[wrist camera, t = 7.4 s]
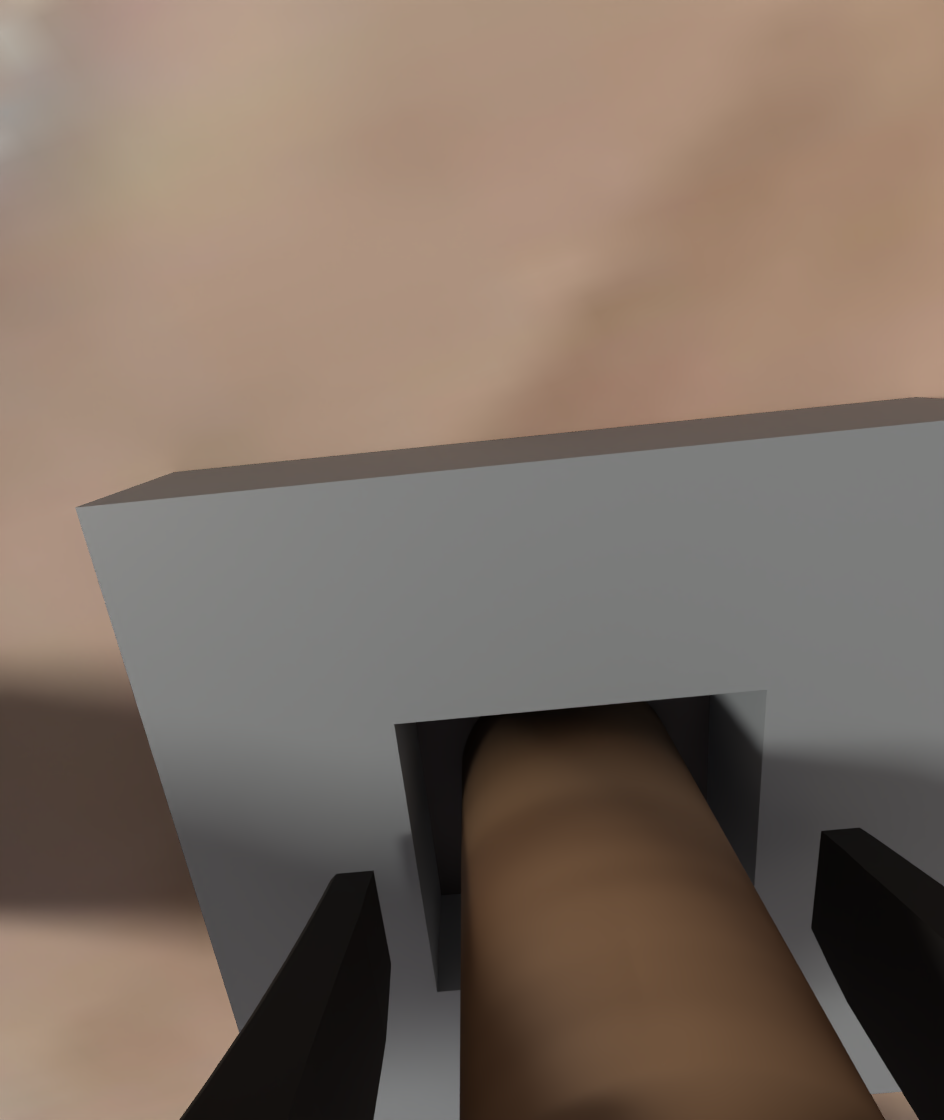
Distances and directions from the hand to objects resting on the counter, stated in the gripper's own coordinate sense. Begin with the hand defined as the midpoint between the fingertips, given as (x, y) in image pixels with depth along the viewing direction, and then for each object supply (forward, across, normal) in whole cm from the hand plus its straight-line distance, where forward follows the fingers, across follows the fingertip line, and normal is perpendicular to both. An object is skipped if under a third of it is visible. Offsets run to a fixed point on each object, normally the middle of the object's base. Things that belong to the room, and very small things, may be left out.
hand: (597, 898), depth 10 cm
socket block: (+4, 0, 0) cm, 4 cm away
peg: (+3, 0, 0) cm, 3 cm away
